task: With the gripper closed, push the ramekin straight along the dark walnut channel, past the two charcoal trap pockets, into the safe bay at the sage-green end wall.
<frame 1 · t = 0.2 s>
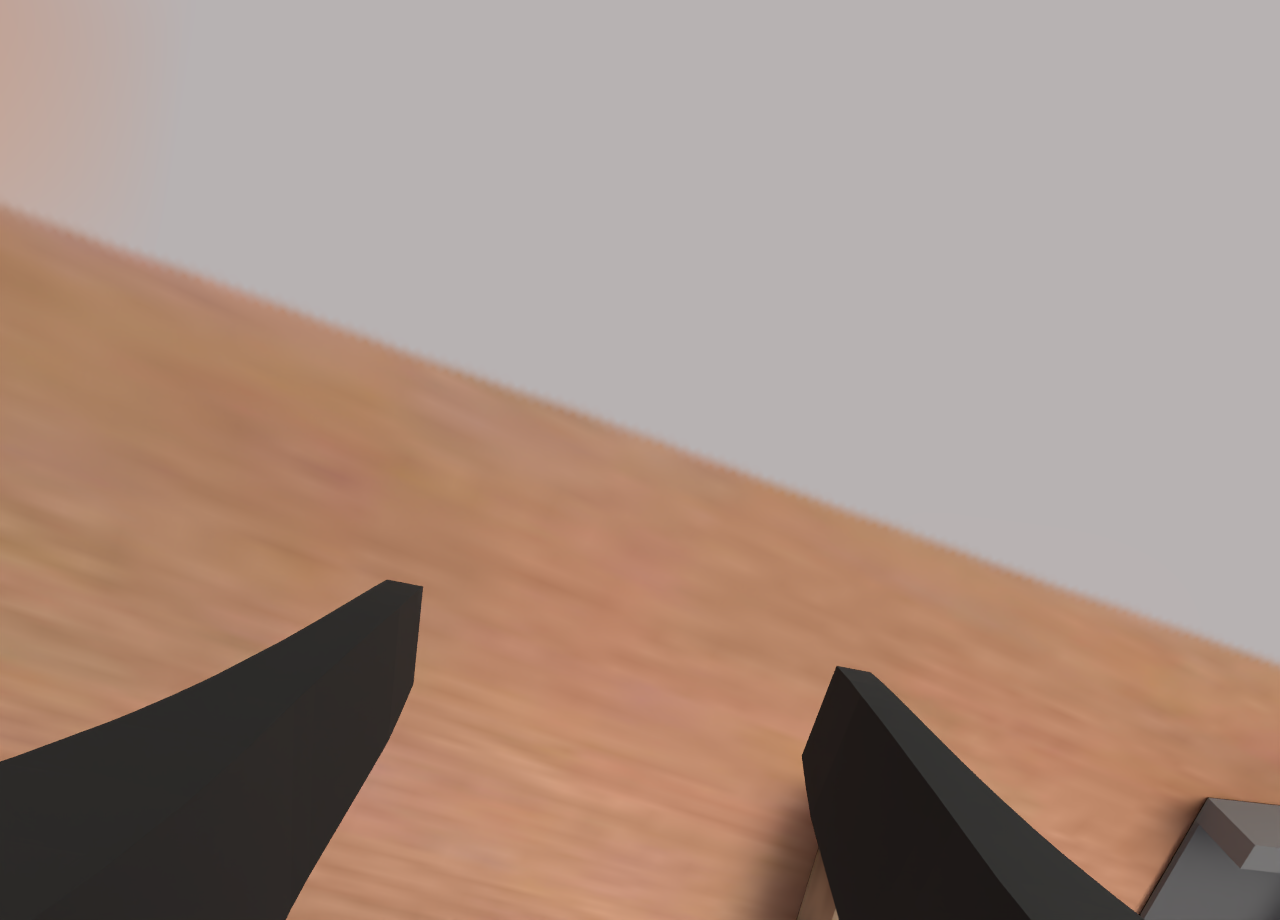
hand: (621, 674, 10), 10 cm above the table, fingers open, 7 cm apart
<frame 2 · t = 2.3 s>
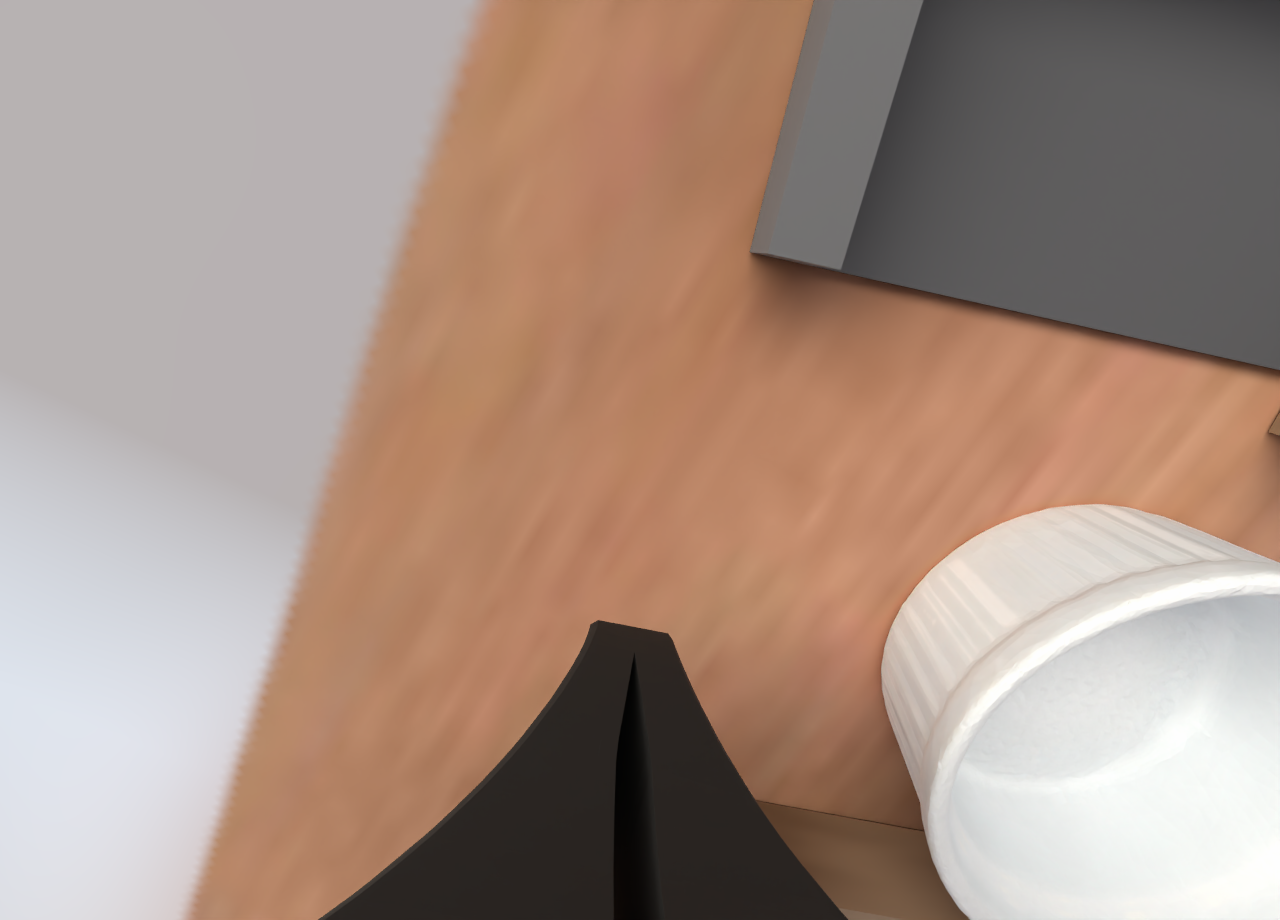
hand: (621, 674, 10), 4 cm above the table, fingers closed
ramekin: (1040, 644, 15), on the table
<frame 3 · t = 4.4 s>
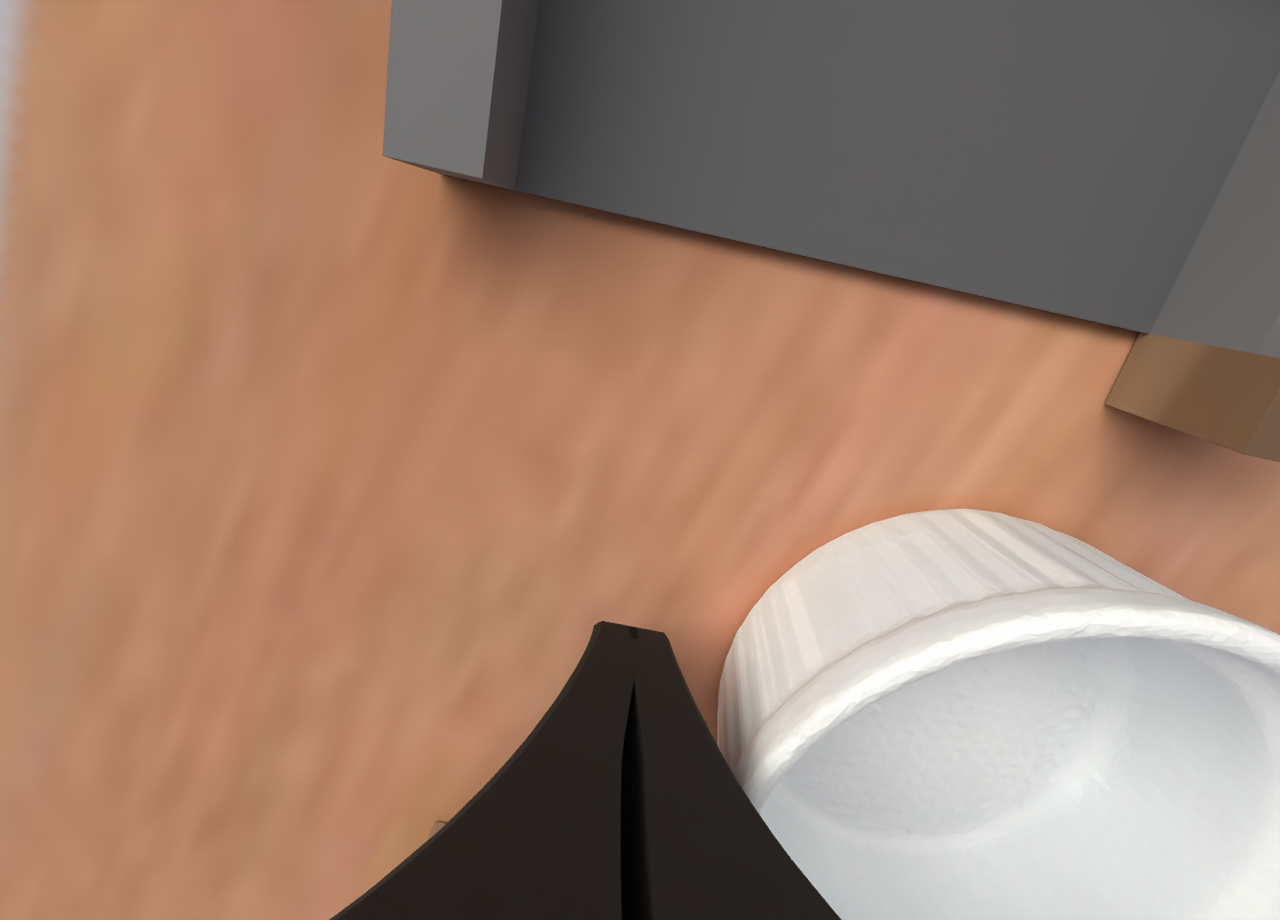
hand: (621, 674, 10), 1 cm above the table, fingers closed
ramekin: (913, 675, 12), on the table, touching gripper
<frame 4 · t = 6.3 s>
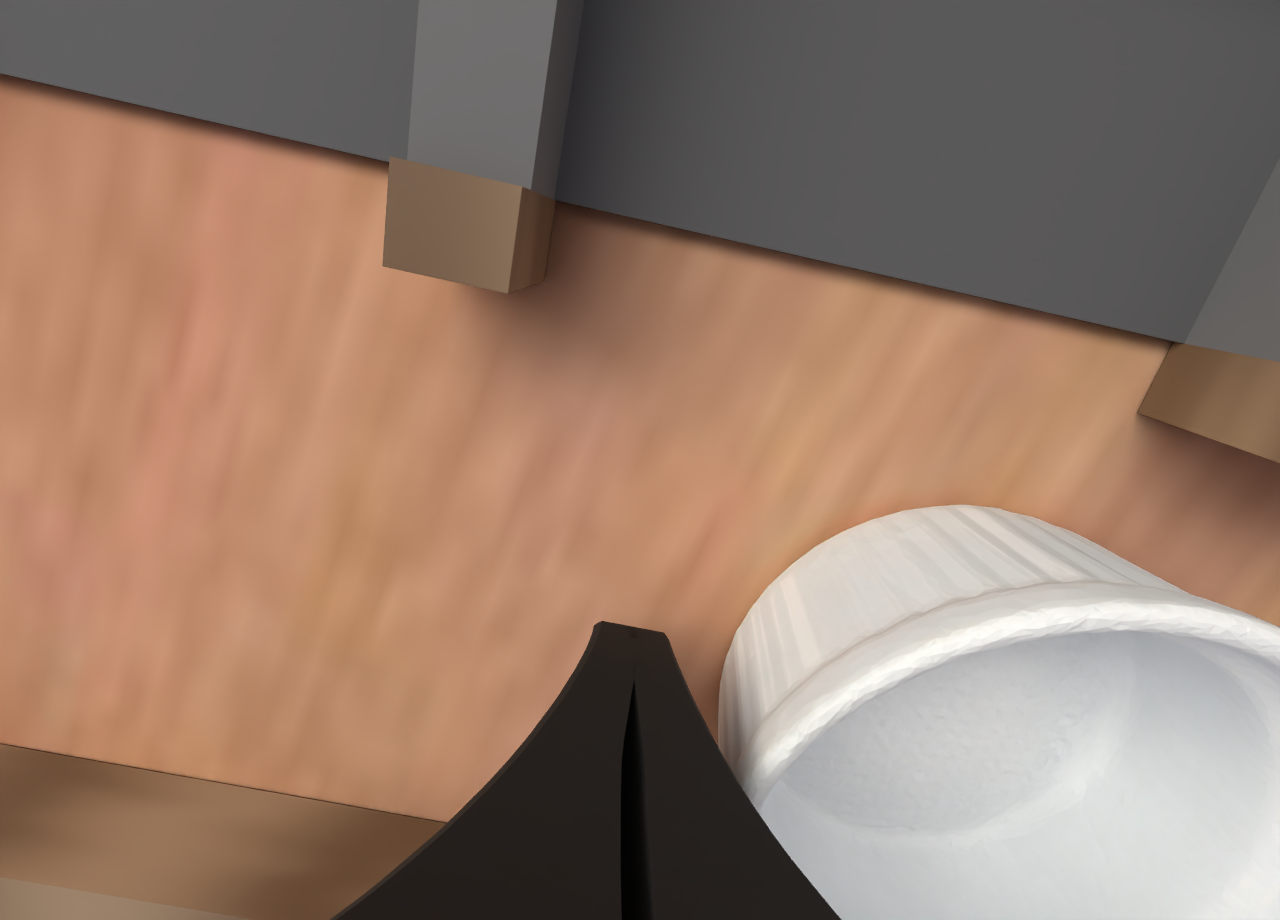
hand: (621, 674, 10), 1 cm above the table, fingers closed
walnut channel: (773, 654, 12), on the table
ramekin: (914, 672, 12), on the table, touching gripper
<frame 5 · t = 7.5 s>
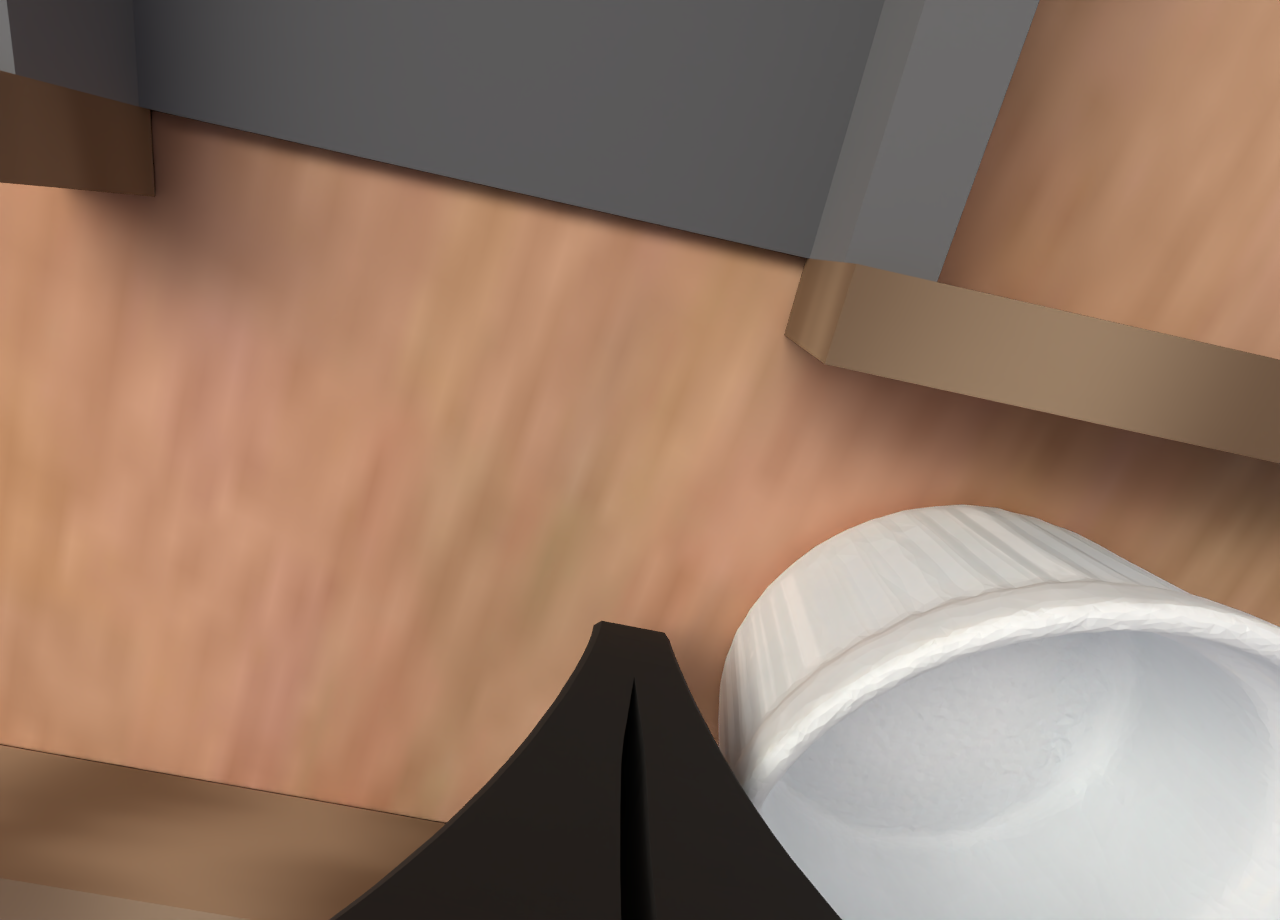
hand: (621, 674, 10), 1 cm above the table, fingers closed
walnut channel: (466, 595, 12), on the table
ramekin: (914, 672, 12), on the table, touching gripper
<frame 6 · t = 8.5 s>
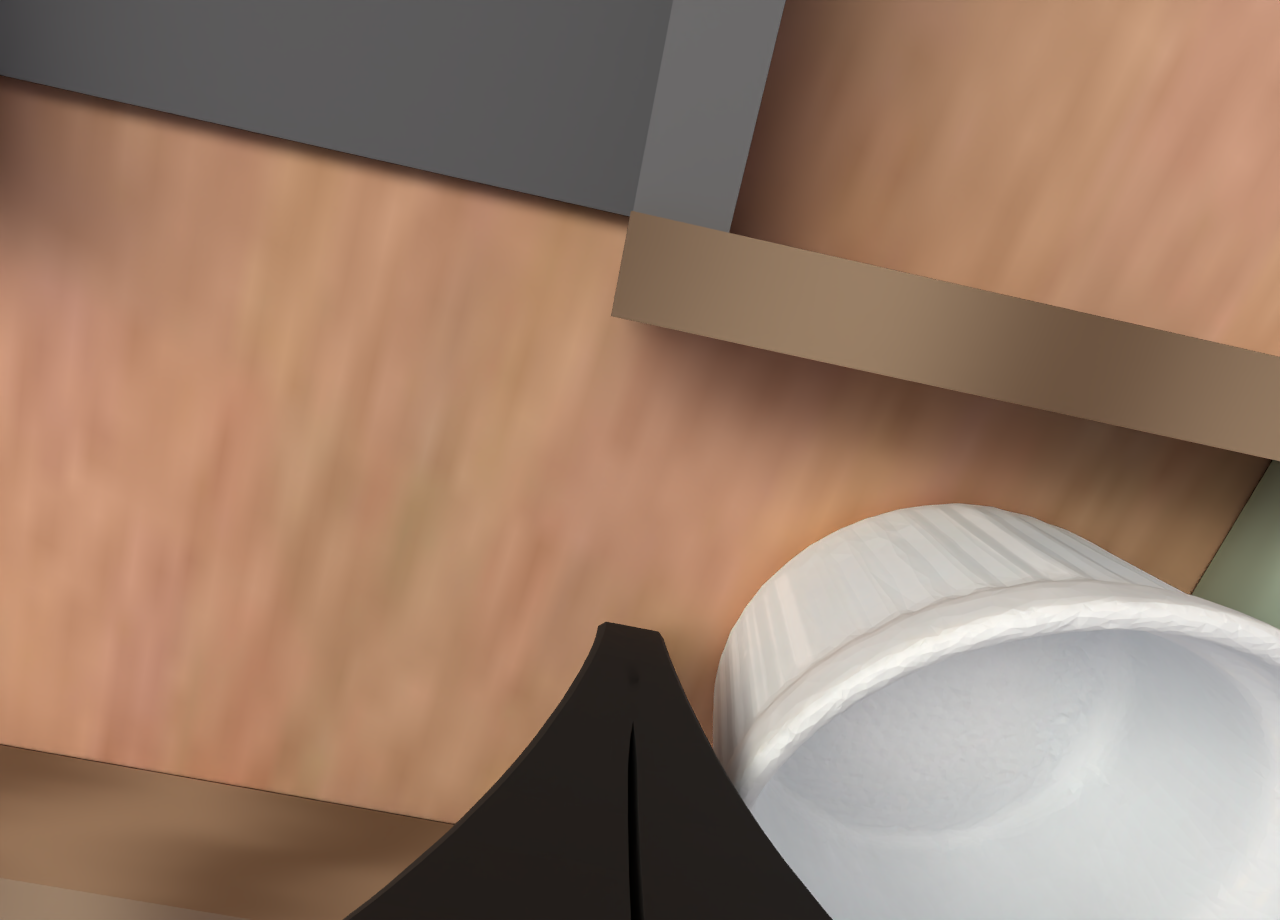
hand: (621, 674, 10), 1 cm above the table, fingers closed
walnut channel: (325, 567, 11), on the table
ramekin: (910, 671, 12), on the table, touching gripper, walnut channel
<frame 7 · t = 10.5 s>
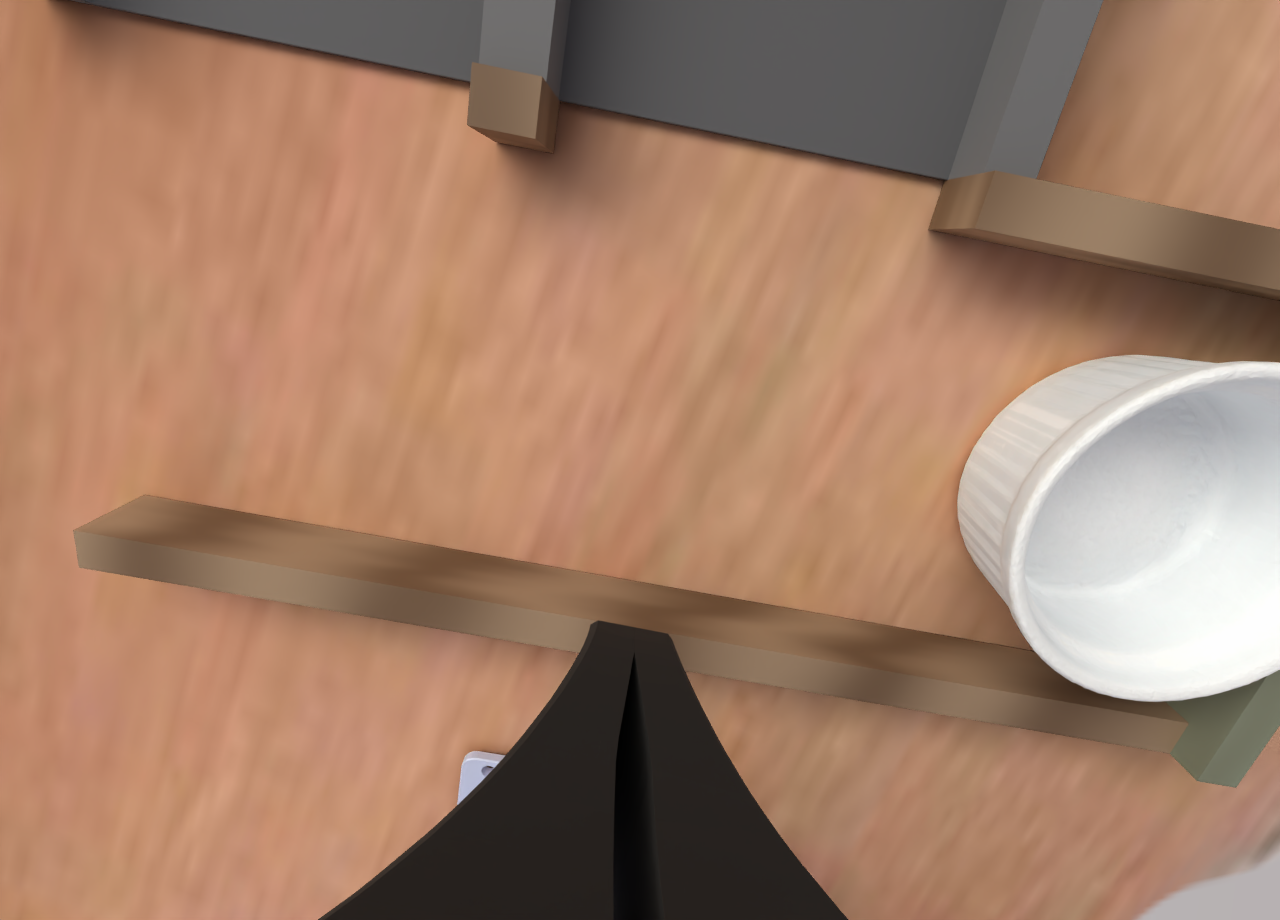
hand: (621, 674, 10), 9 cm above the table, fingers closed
walnut channel: (710, 413, 18), on the table
ramekin: (1082, 480, 19), on the table, touching walnut channel
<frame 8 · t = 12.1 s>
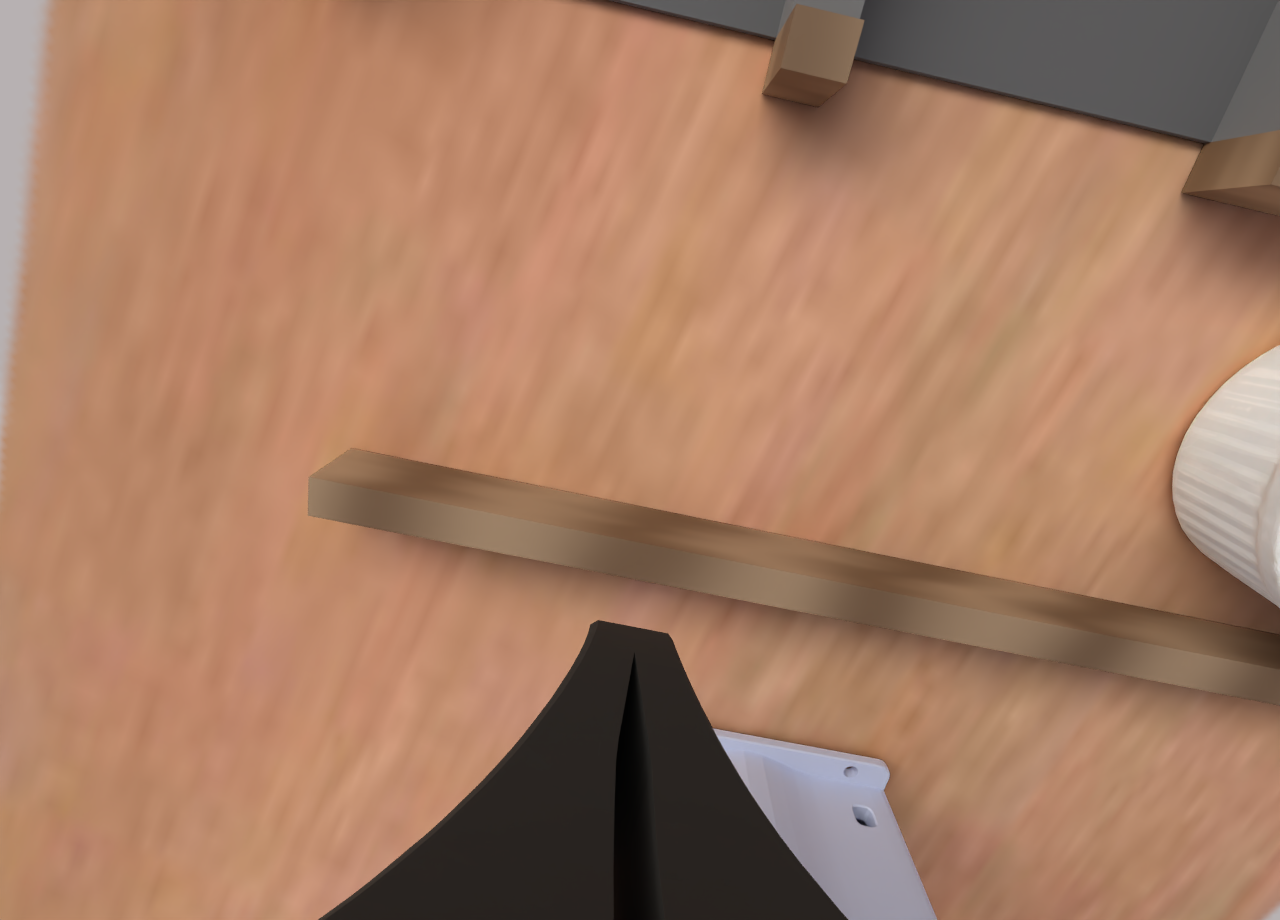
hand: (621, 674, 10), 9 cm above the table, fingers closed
walnut channel: (936, 375, 18), on the table
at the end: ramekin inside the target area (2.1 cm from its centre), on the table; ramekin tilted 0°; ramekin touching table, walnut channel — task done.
